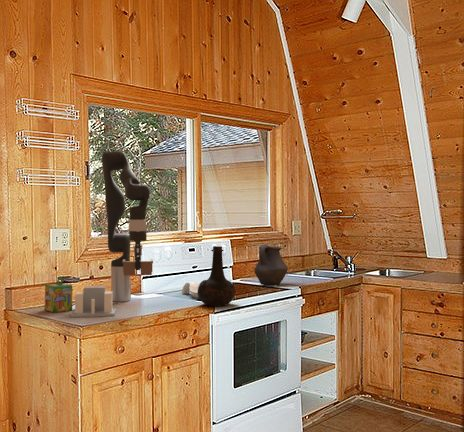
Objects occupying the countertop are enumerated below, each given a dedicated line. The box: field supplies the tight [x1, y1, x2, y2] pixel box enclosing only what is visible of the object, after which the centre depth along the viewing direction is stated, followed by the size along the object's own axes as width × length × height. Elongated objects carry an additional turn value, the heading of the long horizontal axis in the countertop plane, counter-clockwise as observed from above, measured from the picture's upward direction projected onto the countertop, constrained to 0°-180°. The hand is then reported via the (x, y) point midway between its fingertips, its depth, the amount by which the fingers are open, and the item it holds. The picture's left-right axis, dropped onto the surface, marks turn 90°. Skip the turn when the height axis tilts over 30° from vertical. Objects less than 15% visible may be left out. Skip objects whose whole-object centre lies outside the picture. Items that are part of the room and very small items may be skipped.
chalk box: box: [44, 276, 73, 313], centre depth 253 cm, size 9×9×15 cm
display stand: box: [70, 285, 117, 318], centre depth 244 cm, size 14×18×11 cm
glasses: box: [122, 258, 154, 276], centre depth 252 cm, size 14×13×6 cm
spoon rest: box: [181, 281, 200, 299], centre depth 297 cm, size 24×12×7 cm, turn 34°
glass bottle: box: [198, 245, 236, 307], centre depth 268 cm, size 18×18×28 cm
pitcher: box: [254, 244, 288, 286], centre depth 343 cm, size 21×22×25 cm
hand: (137, 269), depth 246 cm, fingers closed on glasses, 2 cm apart
